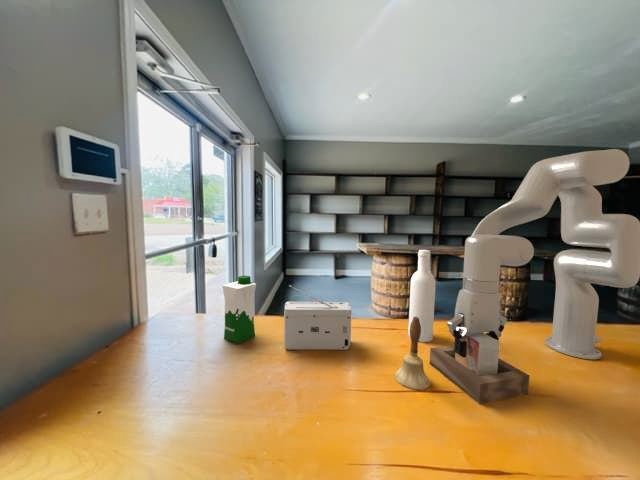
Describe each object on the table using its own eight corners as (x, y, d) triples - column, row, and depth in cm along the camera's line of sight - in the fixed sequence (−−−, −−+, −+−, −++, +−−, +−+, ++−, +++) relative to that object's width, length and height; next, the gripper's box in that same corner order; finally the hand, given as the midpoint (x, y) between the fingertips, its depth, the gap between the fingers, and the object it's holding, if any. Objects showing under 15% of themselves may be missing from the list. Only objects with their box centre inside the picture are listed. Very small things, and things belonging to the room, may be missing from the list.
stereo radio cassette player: (348, 339, 84) (349, 280, 83) (352, 352, 76) (354, 286, 74) (285, 339, 83) (285, 279, 82) (282, 352, 75) (282, 286, 74)
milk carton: (258, 335, 86) (259, 277, 84) (237, 346, 78) (237, 282, 77) (241, 329, 90) (240, 274, 89) (219, 339, 83) (218, 278, 81)
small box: (453, 366, 68) (456, 327, 67) (472, 364, 68) (475, 327, 68) (476, 385, 60) (479, 342, 59) (497, 383, 61) (500, 340, 60)
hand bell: (428, 373, 66) (431, 313, 65) (431, 393, 58) (435, 326, 57) (395, 367, 68) (397, 309, 67) (394, 385, 60) (396, 320, 59)
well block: (470, 357, 74) (471, 342, 73) (528, 394, 58) (529, 375, 58) (429, 363, 70) (430, 348, 70) (479, 404, 55) (480, 384, 54)
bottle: (435, 343, 82) (440, 252, 80) (409, 341, 84) (414, 251, 81) (429, 333, 90) (434, 249, 88) (406, 331, 91) (410, 248, 89)
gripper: (493, 280, 68) (489, 342, 70) (439, 283, 64) (436, 349, 65) (522, 288, 61) (517, 356, 62) (463, 291, 57) (459, 365, 58)
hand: (475, 352), depth 64 cm, fingers open, 9 cm apart
